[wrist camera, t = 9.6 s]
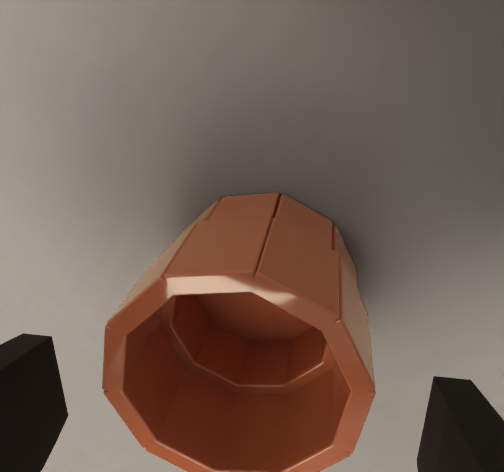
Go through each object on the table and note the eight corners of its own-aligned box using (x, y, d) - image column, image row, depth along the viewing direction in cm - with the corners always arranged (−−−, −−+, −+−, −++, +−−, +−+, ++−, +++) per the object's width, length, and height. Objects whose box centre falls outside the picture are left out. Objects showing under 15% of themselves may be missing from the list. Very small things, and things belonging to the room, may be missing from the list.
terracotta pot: (384, 209, 12) (409, 307, 8) (331, 374, 14) (329, 515, 10) (182, 164, 12) (108, 237, 8) (163, 333, 15) (97, 454, 11)
